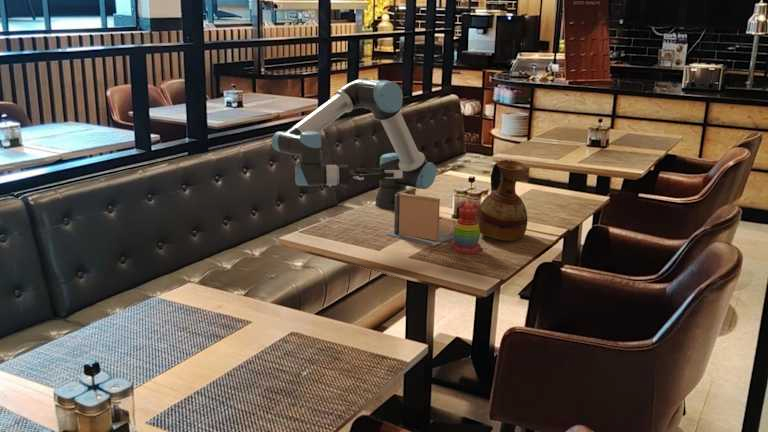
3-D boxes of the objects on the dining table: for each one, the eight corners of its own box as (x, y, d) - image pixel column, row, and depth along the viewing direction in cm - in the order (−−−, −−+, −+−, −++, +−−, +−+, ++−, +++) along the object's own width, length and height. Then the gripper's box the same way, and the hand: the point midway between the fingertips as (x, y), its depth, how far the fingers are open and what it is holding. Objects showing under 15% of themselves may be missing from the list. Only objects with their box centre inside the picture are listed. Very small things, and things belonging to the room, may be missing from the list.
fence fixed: (410, 226, 295) (411, 187, 290) (415, 227, 294) (416, 188, 289) (393, 233, 286) (394, 193, 281) (397, 234, 285) (398, 194, 280)
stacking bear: (480, 246, 275) (483, 199, 270) (481, 255, 265) (484, 207, 260) (451, 244, 276) (453, 198, 271) (451, 253, 266) (453, 206, 261)
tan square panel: (398, 233, 285) (399, 194, 280) (401, 232, 286) (401, 192, 282) (436, 240, 277) (437, 200, 273) (438, 239, 279) (440, 199, 274)
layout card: (408, 225, 297) (408, 224, 297) (455, 237, 284) (455, 235, 284) (385, 234, 286) (385, 233, 286) (433, 246, 273) (433, 245, 273)
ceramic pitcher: (492, 247, 273) (497, 168, 265) (465, 231, 291) (468, 157, 282) (536, 241, 281) (542, 164, 272) (507, 226, 299) (512, 153, 290)
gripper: (336, 180, 276) (399, 179, 279) (339, 189, 263) (404, 188, 266) (336, 160, 273) (399, 160, 277) (339, 169, 261) (405, 168, 264)
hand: (402, 174), depth 271 cm, fingers closed
